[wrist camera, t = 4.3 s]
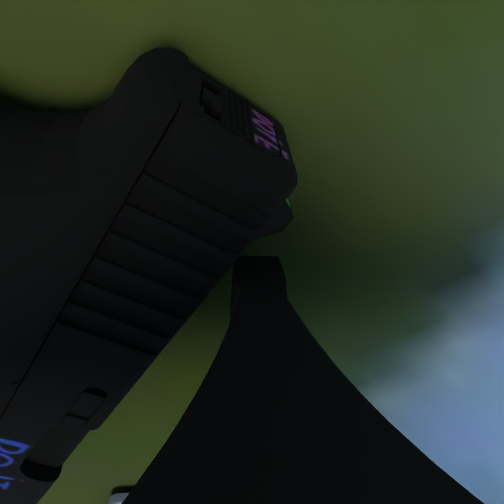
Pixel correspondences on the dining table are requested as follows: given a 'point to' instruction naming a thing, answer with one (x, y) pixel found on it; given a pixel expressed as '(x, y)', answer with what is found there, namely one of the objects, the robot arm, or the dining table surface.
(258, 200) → the handgun
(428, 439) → the dining table surface
